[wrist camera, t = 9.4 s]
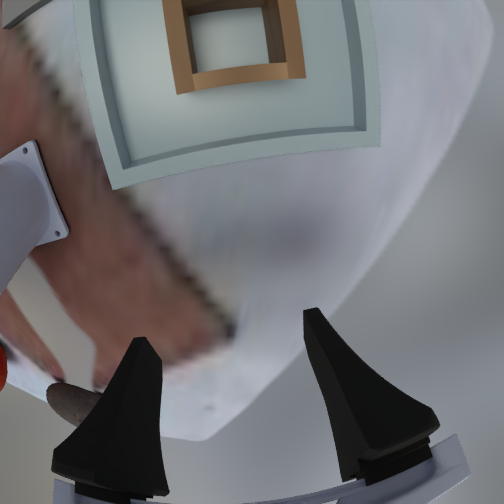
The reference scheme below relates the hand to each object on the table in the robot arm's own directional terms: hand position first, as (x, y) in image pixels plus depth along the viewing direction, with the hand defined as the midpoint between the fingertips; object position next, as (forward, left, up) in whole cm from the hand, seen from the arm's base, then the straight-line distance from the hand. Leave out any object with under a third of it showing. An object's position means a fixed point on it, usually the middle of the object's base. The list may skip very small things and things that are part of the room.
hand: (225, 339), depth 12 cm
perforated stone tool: (-25, -23, -10) cm, 36 cm away
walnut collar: (+3, +13, -9) cm, 15 cm away
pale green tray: (+3, +13, -9) cm, 16 cm away
